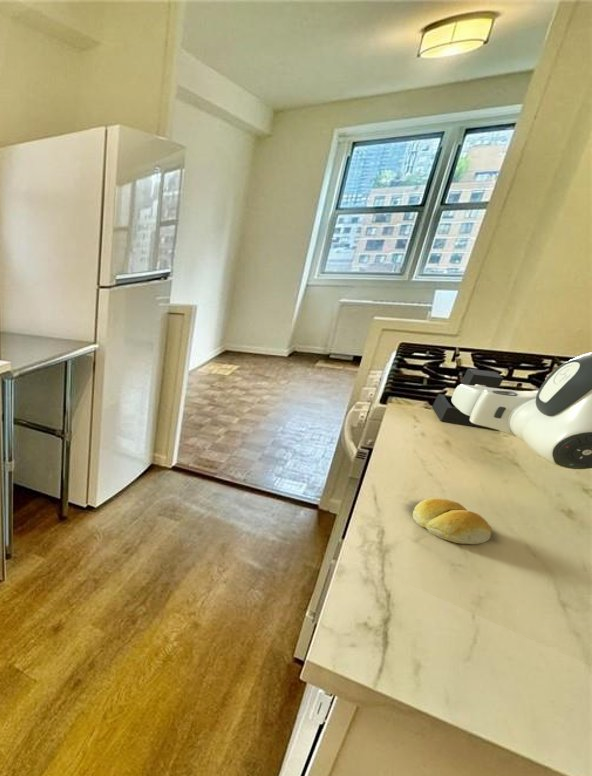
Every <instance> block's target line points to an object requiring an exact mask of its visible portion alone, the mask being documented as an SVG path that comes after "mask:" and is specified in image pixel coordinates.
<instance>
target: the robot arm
mask: <svg viewBox="0 0 592 776" xmlns="http://www.w3.org/2000/svg"><path fill="white" fill-rule="evenodd" d="M451 396H452V398H451V401H452V403H453V404H454V405H455V407H456V408H457V409H459V410H460V411H461V412H462V413H464V414H466V415H468V416H470V419H469V420H470V422H471V423H473V424H476V425H480V426H484V427H488V428H492V429H496V430H495V431H497V430H499V431H500V432H502V433H505V434H507V435H509V436H512V437H517V438H518V439H519V440H520V441H522V442H523V443H524V444H525V445H526V446H527V448H529V449H530V450H531V451H532V452H534V453H535V454H536V455H537V456H539V457H540V458H542V459H543V460H545V461H547V462H548V463H550V464H551V465H554V466H557V467H559V468H564V469H570V470H590V469H592V351H591V352H587V353H584V354H581V355H578V356H576V357H574V358H571V359H569V360H568V361H565V362H564V363H561V364H560V365H558V367H556V368H554V370H553V371H551V372H550V373H549V375H548V376H547V377H546V378H545V380H544V381H543V382H542V384H541V385H540V387H539V389H538V390H537V389H536V390H516V389H515V390H513V389H506V388H505V389H504V388H489V387H487V386H485V385H478V384H475V386H472V385H464V384H462V385H460V384H458V385H457V386H456V387H455V389H454V391H453V392H452V395H451Z"/></svg>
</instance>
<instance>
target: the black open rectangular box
mask: <svg viewBox="0 0 592 776" xmlns="http://www.w3.org/2000/svg"><path fill="white" fill-rule="evenodd" d="M451 398H452V395H448V394H441V393H438V394H437V396H436V397H435V400H434V402H433V404H432V409H433V412H434V413H435V414H436V416H437V417H438V419H439V421H440V422H442V423H449V424H454V425H461V426H467V427H471V428H472V427H473V428H479V429H486V430H491V431H499V430H496V429H492V428H488V427H484V426H480V425H476V424H473V423H471V422H470V420H469V419H470V416H468V415H466V414H464V413H462V412H461V411H460V410H459V409H457V408H456V407H452V406H451V403H452V401H451Z"/></svg>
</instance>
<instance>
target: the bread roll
mask: <svg viewBox="0 0 592 776" xmlns="http://www.w3.org/2000/svg"><path fill="white" fill-rule="evenodd" d="M412 518H413V520H414V521H415V522H416V524H418V525H419V526H420V527H422V528H424V529H427V531H428V532H429V533H431V534H432V535H434V536H436V537H438V538H440V539H442V540H445V541H447V542H448V541H449V542H453V543H456V544H463V545H478V544H479V545H480V544H483V543H486V542H487V541H489V539H490V538H491V535H492V528H491V526H490V524H489V522H488V521H486V519H485V518H484V517H483V516H482V515H480V514H479V513H477V512H474V511H471V510H468V509H466V508H465V506H463V504H461V503H459V502H457V501H455V500H450V499H447V498H437V497H435V498H427V499H423V500H422V501H420V502H419V503H417V504H416V505H415V507H414V509H413V510H412Z"/></svg>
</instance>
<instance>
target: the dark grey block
mask: <svg viewBox="0 0 592 776" xmlns="http://www.w3.org/2000/svg"><path fill="white" fill-rule="evenodd" d="M466 369H467V370H466V372H465V373H464V376H463V378H462V380H461V383H460V384H459V385H462V384H464V385H472V386H475V384H478V385H485V386H487V387H489V388H498V389H500V386H501V384H502V383H503V381H504V379H505V378H504V377H503V376H502V375H501V374H499V372H497V371H493V370H492V371H491V370H484V369H476V368H466ZM451 406H452V407H455V405H454V404H453V403H451Z"/></svg>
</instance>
